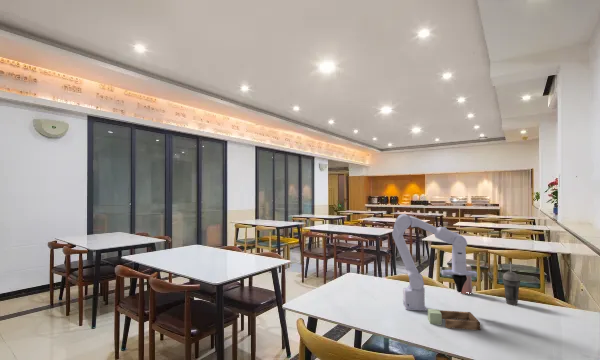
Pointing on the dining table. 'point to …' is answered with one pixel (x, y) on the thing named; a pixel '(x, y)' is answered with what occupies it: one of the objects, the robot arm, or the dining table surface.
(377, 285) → the dining table surface
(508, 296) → the beverage cup
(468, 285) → the beverage can
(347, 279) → the dining table surface
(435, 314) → the cube
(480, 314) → the dining table surface
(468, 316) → the frame
